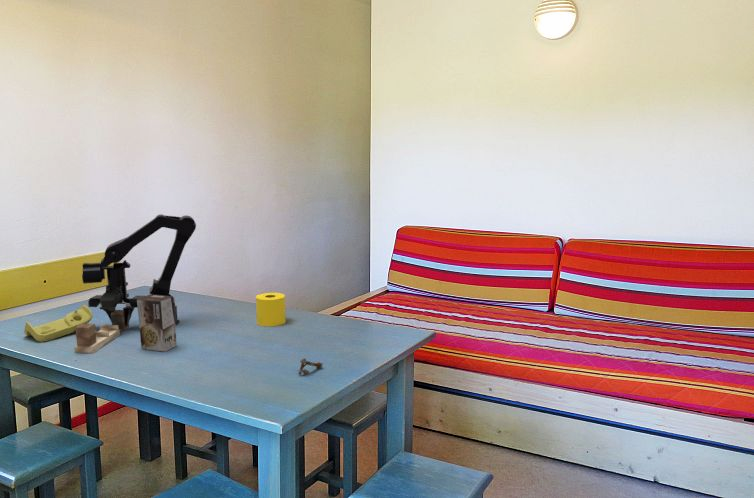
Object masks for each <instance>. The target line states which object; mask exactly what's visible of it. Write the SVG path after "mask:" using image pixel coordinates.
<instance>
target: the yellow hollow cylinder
mask: <svg viewBox="0 0 754 498" xmlns="http://www.w3.org/2000/svg"><path fill="white" fill-rule="evenodd" d="M255 305H256V306H255V309H256V310H255V311H256V324H257V325H258V326H262V327H277V326H281V325H284V324H285V323H286V295H285V294H284V293H280V292H265V293H260V294H258V295H256V296H255Z"/></svg>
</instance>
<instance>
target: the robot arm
mask: <svg viewBox="0 0 754 498" xmlns="http://www.w3.org/2000/svg"><path fill="white" fill-rule="evenodd" d="M161 228H165V229H170V230H175V237H174V241H173V244H172V246H171V248H170V251H169V254H168V256H167V259H166V261H165V264H164V266H163V270H162V272H161V274H160V276H159V278H158V279H155V278H154V279H153V280H152V285H151V287H150V288H149V295H163V296H172V294H170V291H171V285H172V284H171V283H172V280H173V278H174V275H175V272H176V269H177V266H178V265H179V261H180V259H181V256H182V254H183V251H184V249H185V246H186V244H187V243H188V241H189V240H190V239H191V237H192V235H193V234H194V232H195V230H196V229H197V223H196V221H195V219H194V217H192V216H191V215H187V214H186V215H183V216H174V215H164V214H158V215H156V216H155V217H154V218H153V219H151V220H150V221H149V222H147V223H145V224H144V225H142V226H141V227H140V228H139V229H137V230H135V231H134V232H132V233H131V234H130V235H128V236H127V237H124V238H121V239H119V240H117V241H115V242H112V243H110V244H109V245H107V246H106V248H105V251H104V257H103V258H102V259H101V261H100V262H91V263H90V262H89V263H88V262H84V263H82V273H81V277H82V284H83V285H84V284H85V285H86V284H98V283H102V282H103V280H106V278H107V285H106V286H105V292H104V293H103V294H97V295H94V296H92V297H90V298H89V299H88V301H87V305H88V306H87V307H88V308H97V307H98V308H99V309H100V310H103V311H104V312H105V313H106V315H107V316H108V318H109V321H110V323H112V320H111V313H112V312H114V311H115V310H117V309H116V307H117V305H125V306H124V307H122V310H124V313H125V326H127V325H128V323H129V324H130V320H131V317H132V314H133V312H134V310H135V308H137V309H138V306H137V299H140V298H142V297H144V296H145V295H134V296H133V297H132V298H130V293H128V290H127V286H129V281H128V282H127V279H126V278H127V277H126V269H130V268H131V263H129V262H128V261H127V260H126V259H124V258H125V257H126V256H127V255H128V254H129V253H130V252H131V251H132V250H133V248H134V247H136V246H137V245H139V244H141V243H142V242H143V241H145V240H146V239H148V238H149V237H150V236H151V235H153V234H155V233H156V232H157V231H159V230H160V229H161ZM122 260H123V262H121V261H122ZM111 264H113V265H111ZM173 301H174V315H175V325H177V324H178V323H179V322H180V319H178V307H177V305H176V302H175V297H174V296H173ZM99 306H100V307H99Z"/></svg>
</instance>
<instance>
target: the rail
mask: <svg viewBox="0 0 754 498" xmlns="http://www.w3.org/2000/svg"><path fill="white" fill-rule="evenodd" d="M119 336H121V335H120V330H119V325H112V324H100V325H99V330H98V331H96V323H87V324H81V325H79V326H77V327H75V340H76V345H74V346H73V349H74V353H79V354H80V353H82V354H87V353H88V354H94V353H95V352H98V350H100V349H101V348H103V347H105V346H106V345H108V344H109V343H110V342H112V341H114V340H115V339H116V338H118V337H119Z"/></svg>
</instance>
